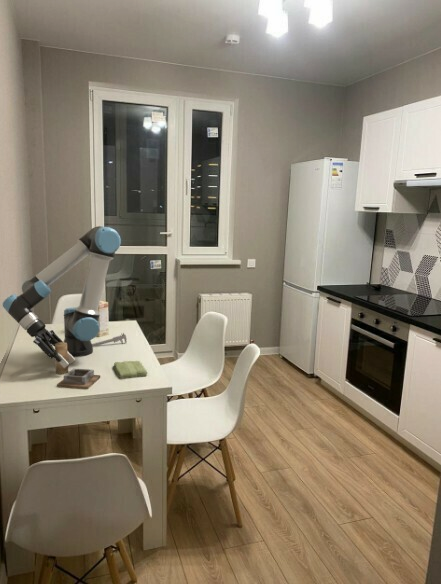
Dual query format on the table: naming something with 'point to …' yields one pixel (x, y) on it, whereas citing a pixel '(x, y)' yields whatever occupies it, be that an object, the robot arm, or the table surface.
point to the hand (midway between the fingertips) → (69, 363)
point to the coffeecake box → (103, 319)
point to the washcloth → (129, 369)
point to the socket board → (79, 379)
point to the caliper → (112, 340)
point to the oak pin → (62, 350)
